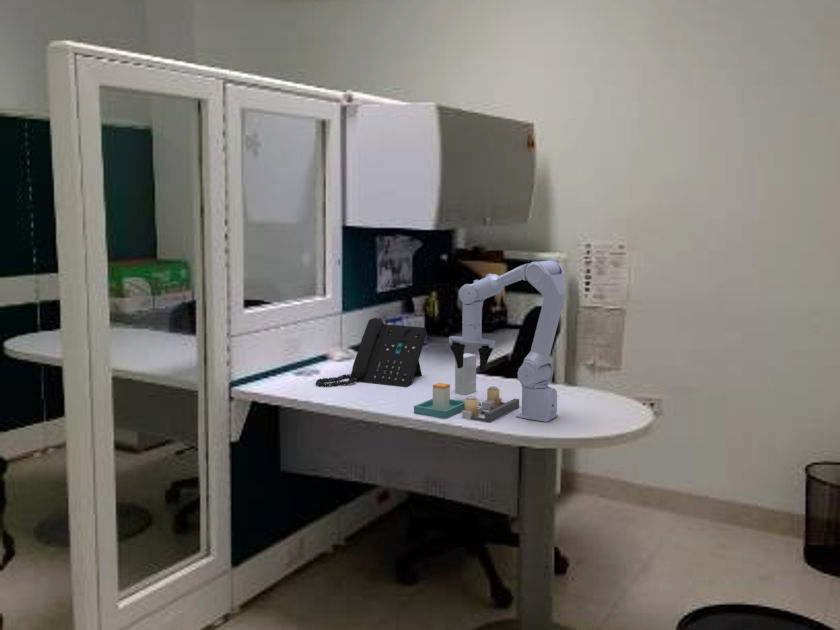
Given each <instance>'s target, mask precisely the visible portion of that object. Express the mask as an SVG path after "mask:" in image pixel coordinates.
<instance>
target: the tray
mask: <svg viewBox="0 0 840 630" xmlns="http://www.w3.org/2000/svg"><path fill="white" fill-rule="evenodd" d="M463 410H465V400H459V399H458V400H457V399H451V398H450V408H449V409H447V410H439V409H433V398H429V399H428V400H425V401H423V402H420V403H418V404H416V405H414V406H413V414H416V415H422V416H428V417H435V418H440V419H446V420H447V419H449V418H451V417H453V416H455V415H457V414H459V413H462V411H463Z"/></svg>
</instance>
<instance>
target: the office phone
mask: <svg viewBox="0 0 840 630" xmlns="http://www.w3.org/2000/svg"><path fill="white" fill-rule="evenodd" d="M427 334H428V332H427V329H426V327H423V326H410V325H409V326H408V325H399V324H397V325H396V324H386V323H384V322H383V319H382V318H379V317H372V318H370V319H369V320H368V322H367V324H366V327H365V329H364V332H363V334H362V337H361V341H360V343H359V347H358V350H357V353H356V355H355V359H354V361H353V365H352V367H351V368H352V369H351V372H350V373H347V374H345V373H344V374H342V375H339V376H337V377H336V376H335V377H329V378H328V377H322V378H318V379H316V380H315V381H316V382H315V386H317V385H318V386H317V387H321V386H324V387H323V388H328V387H327V386H331V387H332V386H334V387H337V386H338V385H341V386H348V385H353V384H354V383H356V381H361V382H360V383H369V382H372V384H378V383H381V384H380V385H386V384H387V385H388V386H394V385H395V386H396V387H402V388H403V387H404V388H408V387H411V386H412V384H413V383H412V382H413V380H414V377H415V376H418V377H423V374H422V368H421V365H420V357H421V353H422V350H423V347H424V344H425V341H426V336H427ZM342 379H343V380H342ZM345 379H348V380H345ZM339 380H340V381H339ZM332 381H333V382H332ZM334 381H335V382H334ZM324 382H326V383H324ZM344 384H345V385H344ZM325 386H326V387H325Z"/></svg>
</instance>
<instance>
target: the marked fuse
mask: <svg viewBox="0 0 840 630" xmlns="http://www.w3.org/2000/svg"><path fill="white" fill-rule="evenodd" d="M432 399H433V409H439V410H447V409H449V408H450V399H451V384H450V383H444V382H438V383H435V384H433V385H432Z"/></svg>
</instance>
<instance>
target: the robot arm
mask: <svg viewBox="0 0 840 630" xmlns="http://www.w3.org/2000/svg"><path fill="white" fill-rule="evenodd" d="M564 275H565V270H564V269H563V268H562V266H561V265H560V263H559V262H558V261H557V260H555V259H548V260H542V261H531V262H530V263H524V264H522V265H519V266H517V267H515V268H513V269H512V270H509V271H507V272H505V273H503V274H501V275H498V274H496V273H493V274H492V273H487V274H486V275H485V277H484V278H481V279H475V280H473V282H472V283H465V284H463V285H462V286H461V287H460V288H459V290H458V297H459V300H460V302H462V314H461V315H462V317H461V318H462V319H461V320H462V321H461V323H462V325H461V326H462V327H461V329H462V332H461V336H453V335H451V336H449V337H448V344H451V345H449V348H450V349H451V351H452V353H453V356H454V360H455V359H456V363H457V367H458V368H462V367H463V354H465V347H466V346H473V347H474V346H475V347H480V348H478V349H477V350H478V355H479V356H478V357H479V371H480V372H486V370H487V369H486V368H487V365H488V362H489V358H490V357H491V354H492V352H493V351H494V348H495V347H496V340H492V339H486V338H482V335H483V333H482V332H483V331H482V329H483V326H482V325H483V323H482V322H483V321H482V320H483V319H482V318H483V306H484V301H485V300H486V299H488V298H491V297H494V296H495V295H499V294H501V293H502V292H503V290H504V287H506V286H508V285H511V284H514V283H516V282H517V283H518V282H519V281H522V280H523V281H524V282H525V281H527V282H528V283H529V284H531V286H532V287H534V288H535V289H536V291H538V292H539V293H540V295H541V296H542V297H543V300H542V304H541V309H540V312H539V316H538V321H537V324H536V328H535V332H534V337H533V339H532V340H533V341H532V345H531V348H530V351H529V353H528V354H527V355H526V356H525V357H524V359H523V362H522V364H521V366H519V368H518V371H517V379H518V381H519V383H520V384H521V412H519V413H518V414H516V415H515V417H516V418H520V419H525V420H526V419H527V420H533V421H539V422H543V423H544V422H545V423H547V422H549V421H551V420H553V419H554V418H556V417H557V416H558V415H559V414H558V413H557V412H558V411H557V410H558V392H557V389H556V388H554V387H550V386H549V384H550V382H549V381H550V380H551V379H552V378H553V375H554V368H553V363H554V358H553V357H552V356H551V353H552V349H553V344H554V342H555V341H554V340H555V337H556V333H557V328H558V325H559V322H560V318H561V314H562V310H563V307H564V303H565V299H566V291H565V290H566V289H565V283H564Z"/></svg>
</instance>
